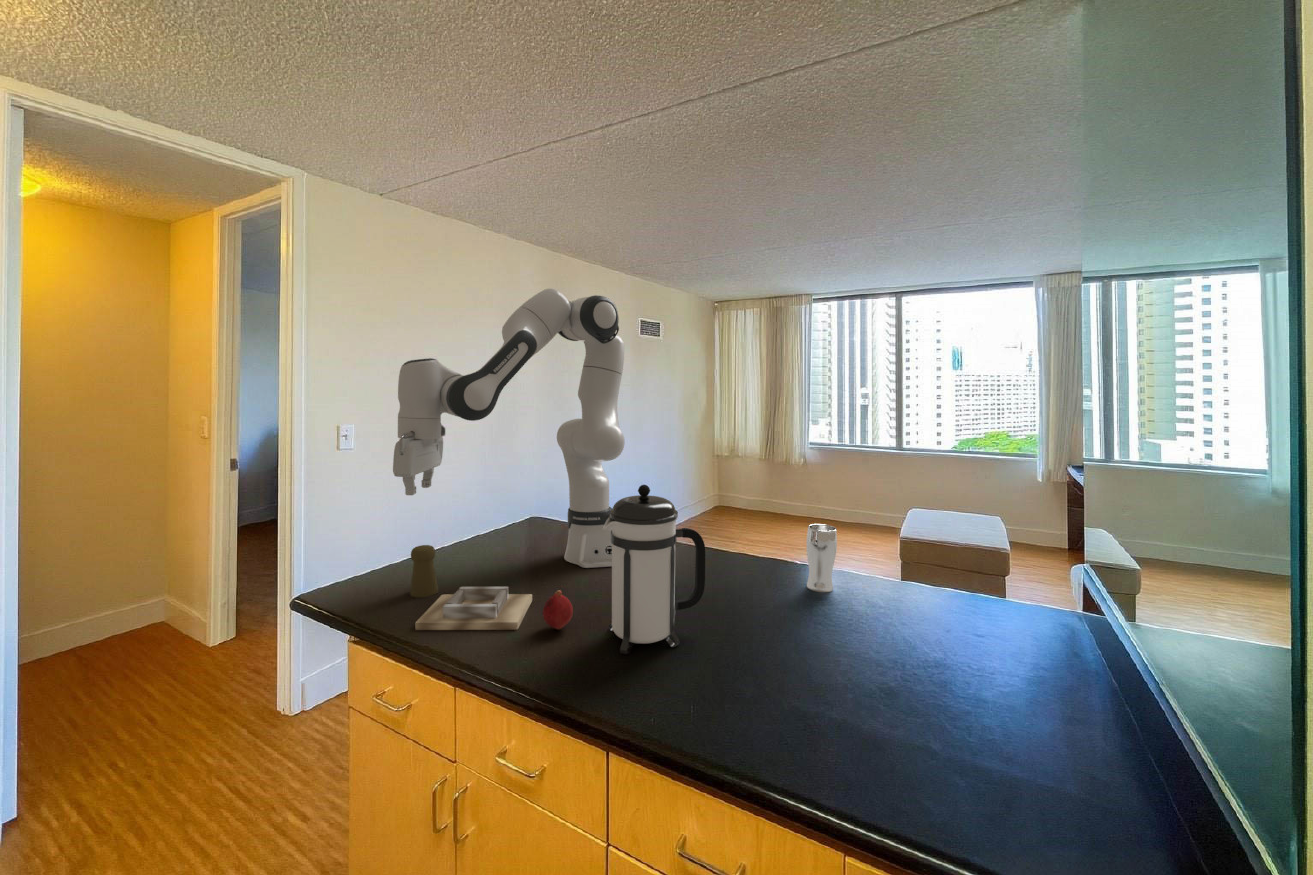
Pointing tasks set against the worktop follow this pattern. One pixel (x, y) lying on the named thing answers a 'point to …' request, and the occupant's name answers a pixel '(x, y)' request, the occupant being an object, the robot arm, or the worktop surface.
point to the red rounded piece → (557, 611)
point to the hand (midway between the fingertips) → (418, 490)
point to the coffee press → (648, 569)
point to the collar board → (476, 610)
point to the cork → (423, 572)
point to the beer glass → (821, 556)
